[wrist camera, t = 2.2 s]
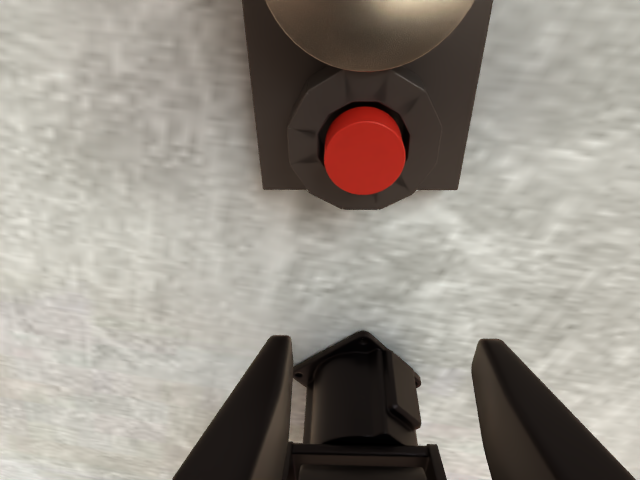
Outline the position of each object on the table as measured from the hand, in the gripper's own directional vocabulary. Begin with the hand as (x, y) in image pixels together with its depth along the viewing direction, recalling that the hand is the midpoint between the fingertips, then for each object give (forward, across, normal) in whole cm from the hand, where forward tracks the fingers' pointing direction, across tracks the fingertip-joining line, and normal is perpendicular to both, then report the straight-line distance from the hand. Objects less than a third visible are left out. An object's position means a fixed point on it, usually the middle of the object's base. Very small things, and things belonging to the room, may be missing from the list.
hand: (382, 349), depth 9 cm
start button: (+10, 0, 0) cm, 10 cm away
